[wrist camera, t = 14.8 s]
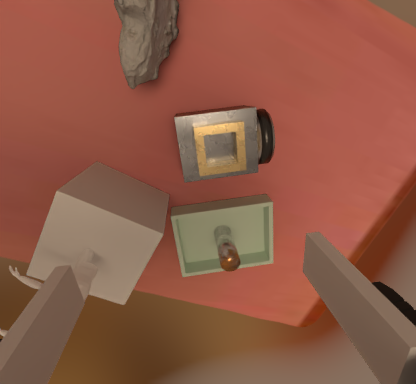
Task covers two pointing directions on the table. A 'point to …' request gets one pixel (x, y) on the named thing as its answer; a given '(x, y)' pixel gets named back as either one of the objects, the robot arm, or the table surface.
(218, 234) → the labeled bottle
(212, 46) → the table surface
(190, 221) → the tray
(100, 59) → the table surface
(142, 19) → the fossil
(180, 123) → the block
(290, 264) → the table surface
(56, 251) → the grey box
